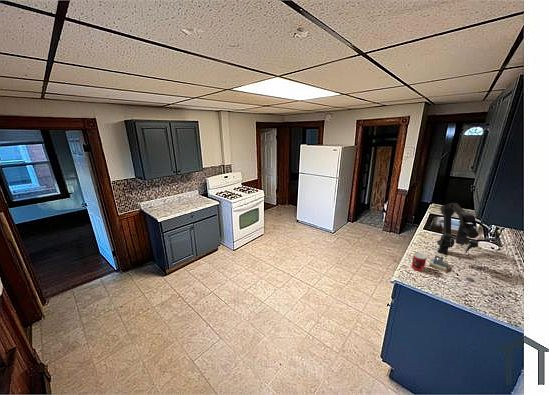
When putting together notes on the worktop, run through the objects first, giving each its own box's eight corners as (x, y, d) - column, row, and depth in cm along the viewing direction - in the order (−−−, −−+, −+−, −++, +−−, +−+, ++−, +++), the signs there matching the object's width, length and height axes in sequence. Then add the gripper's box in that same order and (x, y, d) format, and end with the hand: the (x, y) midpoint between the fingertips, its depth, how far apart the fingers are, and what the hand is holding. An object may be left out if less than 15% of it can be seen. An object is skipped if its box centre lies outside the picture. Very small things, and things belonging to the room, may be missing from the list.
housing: (434, 259, 165) (435, 254, 163) (442, 261, 162) (443, 256, 160) (432, 263, 160) (434, 258, 158) (441, 266, 157) (442, 261, 155)
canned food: (421, 265, 162) (424, 252, 158) (425, 272, 155) (428, 259, 151) (409, 264, 164) (412, 251, 160) (413, 270, 157) (416, 257, 153)
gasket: (465, 277, 150) (465, 276, 150) (474, 280, 147) (474, 279, 147) (465, 280, 147) (465, 279, 147) (474, 283, 144) (474, 282, 144)
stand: (431, 260, 168) (432, 257, 167) (447, 265, 162) (448, 262, 161) (429, 266, 161) (429, 263, 160) (445, 272, 155) (446, 269, 154)
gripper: (445, 231, 154) (440, 250, 159) (480, 240, 142) (474, 260, 148) (447, 225, 162) (442, 244, 167) (481, 233, 150) (474, 253, 155)
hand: (457, 250), depth 159 cm, fingers open, 9 cm apart
